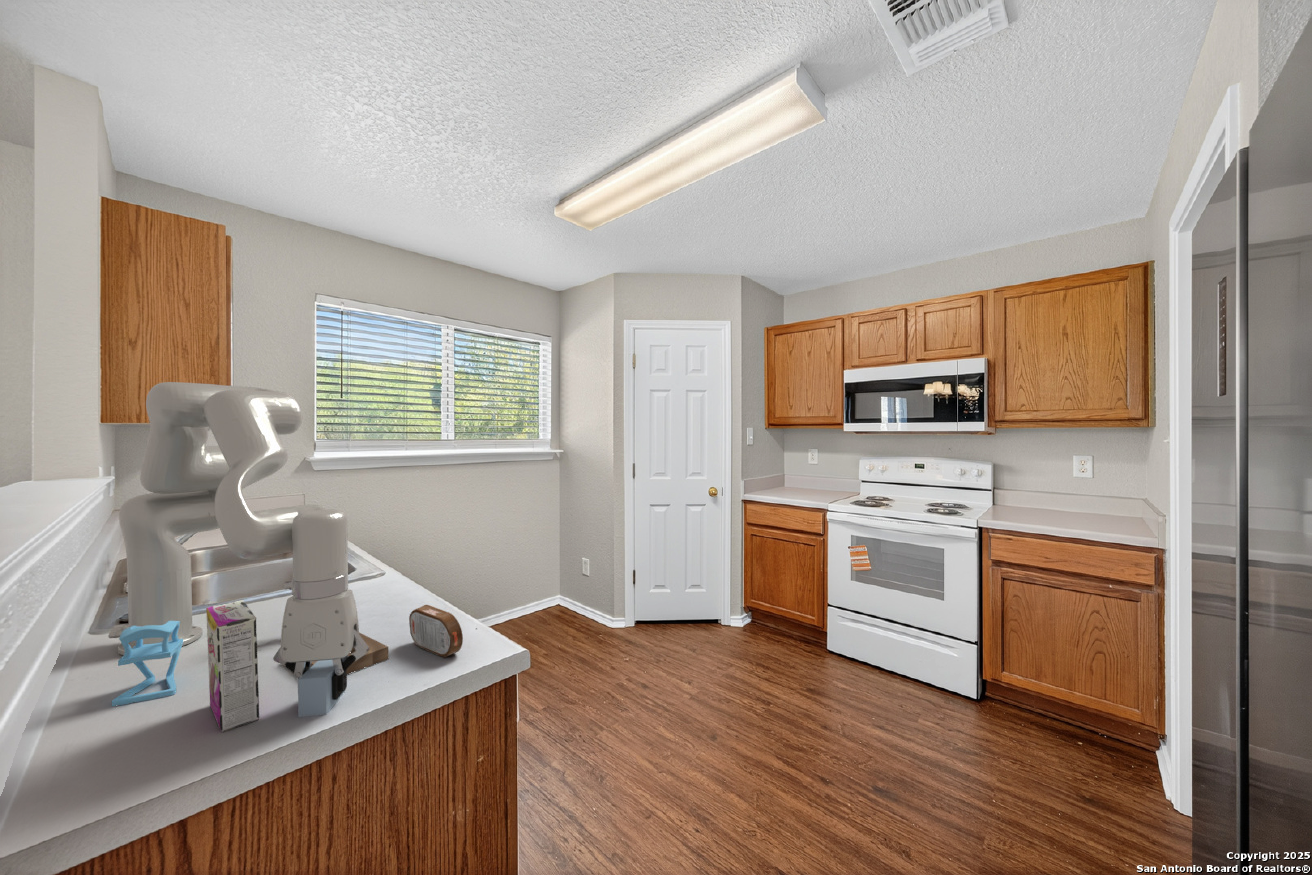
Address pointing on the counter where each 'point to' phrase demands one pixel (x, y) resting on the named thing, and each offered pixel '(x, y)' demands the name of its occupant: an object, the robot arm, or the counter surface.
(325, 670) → the blue peg
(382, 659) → the socket block
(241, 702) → the candy bar box
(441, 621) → the tin
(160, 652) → the chair
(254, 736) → the counter surface
